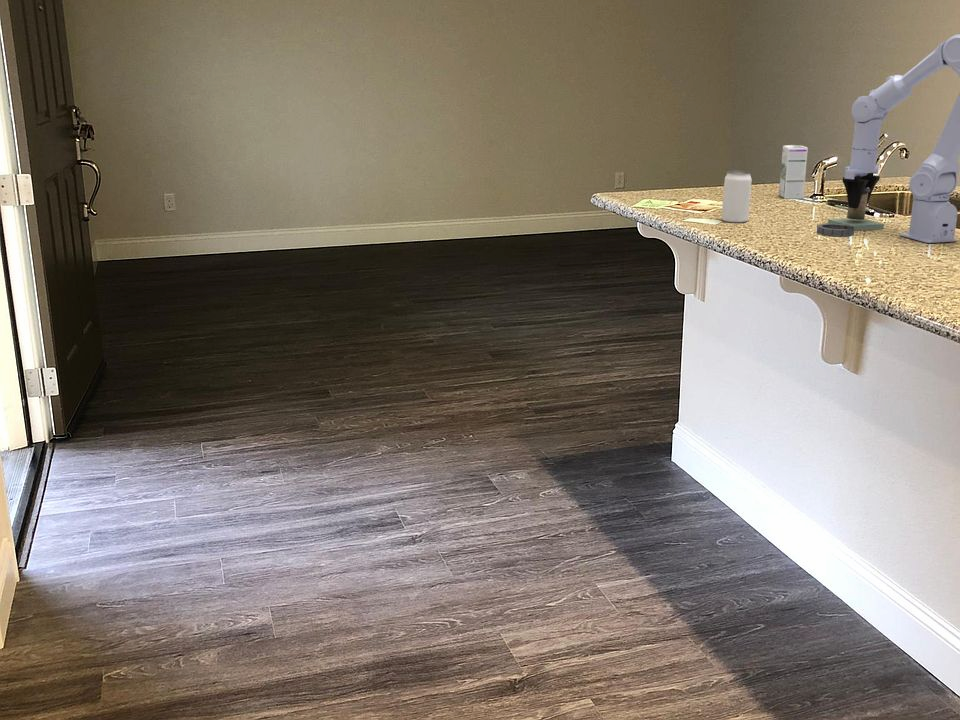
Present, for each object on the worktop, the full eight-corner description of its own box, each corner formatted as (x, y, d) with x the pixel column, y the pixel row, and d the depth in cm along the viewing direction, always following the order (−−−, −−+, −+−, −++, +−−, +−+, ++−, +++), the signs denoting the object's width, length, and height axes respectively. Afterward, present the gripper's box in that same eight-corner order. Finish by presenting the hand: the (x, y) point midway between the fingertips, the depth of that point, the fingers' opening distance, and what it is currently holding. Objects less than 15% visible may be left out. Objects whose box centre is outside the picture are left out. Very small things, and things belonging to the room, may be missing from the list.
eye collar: (860, 235, 225) (861, 229, 224) (830, 237, 222) (831, 230, 222) (839, 229, 232) (839, 223, 231) (809, 231, 230) (810, 224, 229)
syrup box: (804, 199, 276) (809, 146, 271) (783, 199, 276) (788, 146, 271) (798, 196, 281) (803, 144, 276) (777, 196, 281) (782, 144, 276)
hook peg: (868, 218, 235) (873, 187, 232) (860, 220, 231) (865, 188, 229) (850, 216, 238) (854, 185, 235) (842, 217, 234) (846, 186, 232)
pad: (883, 228, 232) (884, 223, 232) (851, 230, 230) (851, 225, 230) (859, 222, 241) (859, 217, 240) (827, 224, 238) (828, 219, 238)
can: (748, 223, 239) (753, 174, 235) (721, 222, 240) (725, 173, 236) (747, 219, 245) (751, 170, 241) (720, 218, 246) (724, 170, 242)
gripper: (861, 145, 237) (854, 201, 241) (835, 150, 227) (828, 208, 231) (890, 147, 232) (882, 204, 237) (864, 152, 222) (857, 211, 227)
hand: (857, 206), depth 234 cm, fingers closed on hook peg, 4 cm apart
